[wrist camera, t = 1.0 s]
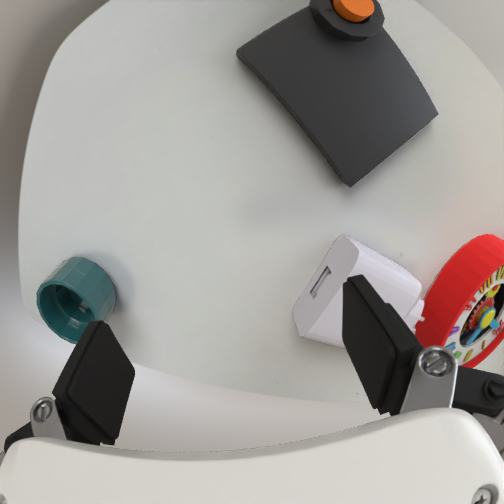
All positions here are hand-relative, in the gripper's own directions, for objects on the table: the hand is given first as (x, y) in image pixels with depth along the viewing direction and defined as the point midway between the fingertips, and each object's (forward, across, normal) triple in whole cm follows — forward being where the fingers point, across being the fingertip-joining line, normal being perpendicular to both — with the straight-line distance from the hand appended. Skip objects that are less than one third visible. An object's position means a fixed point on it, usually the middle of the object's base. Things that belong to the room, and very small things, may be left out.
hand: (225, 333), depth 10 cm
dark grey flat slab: (+14, -12, -10) cm, 21 cm away
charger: (+14, -13, +11) cm, 22 cm away
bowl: (+14, +16, +4) cm, 22 cm away
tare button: (+11, -12, -16) cm, 23 cm away
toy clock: (+14, -30, +17) cm, 38 cm away
